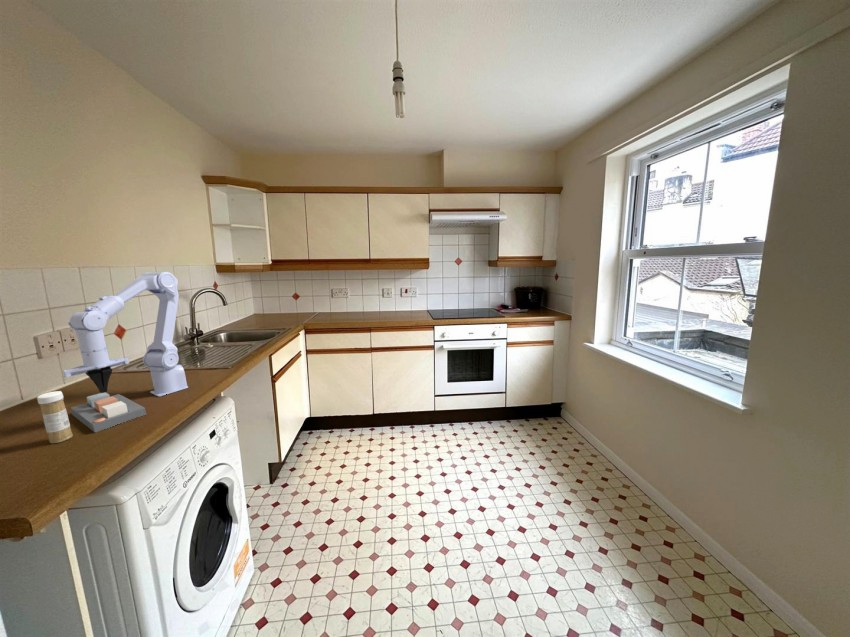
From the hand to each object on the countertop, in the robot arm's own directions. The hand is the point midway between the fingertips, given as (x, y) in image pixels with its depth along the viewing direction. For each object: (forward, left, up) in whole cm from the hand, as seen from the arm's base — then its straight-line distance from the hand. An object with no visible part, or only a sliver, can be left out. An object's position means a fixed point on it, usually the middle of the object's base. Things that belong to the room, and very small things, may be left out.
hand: (103, 391), depth 104 cm
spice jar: (+12, +8, -8) cm, 16 cm away
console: (0, 0, -8) cm, 8 cm away
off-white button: (0, +7, -6) cm, 10 cm away
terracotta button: (0, 0, -6) cm, 6 cm away
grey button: (0, -8, -6) cm, 10 cm away
